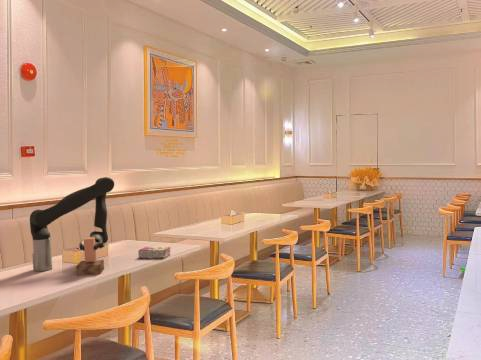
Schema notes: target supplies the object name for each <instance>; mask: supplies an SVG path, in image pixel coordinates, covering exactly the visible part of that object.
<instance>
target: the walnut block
mask: <svg viewBox="0 0 481 360" xmlns="http://www.w3.org/2000/svg"><path fill="white" fill-rule="evenodd" d="M104 269H105V260H104V259H96V260H95V261H90V262H85V260H81V261H79V262H78V264H77V265H76V275H77V276H85V275H86V276H89V275H90V276H91V275H101V274H102V272H103V271H104Z"/></svg>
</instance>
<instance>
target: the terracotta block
mask: <svg viewBox="0 0 481 360" xmlns="http://www.w3.org/2000/svg"><path fill="white" fill-rule="evenodd" d="M83 245H84V251H83V253H84V261H85V262H90V261H95V260H97V250H94V245H95V237H90V236H89V237H84V238H83Z"/></svg>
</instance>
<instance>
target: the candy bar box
mask: <svg viewBox="0 0 481 360" xmlns="http://www.w3.org/2000/svg"><path fill="white" fill-rule="evenodd" d="M170 255H171V247H170V246H145V247H143V248H141V249H138V258H139V259H164V258H166V257H167V258H168V257H169V256H170Z"/></svg>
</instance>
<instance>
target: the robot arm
mask: <svg viewBox="0 0 481 360" xmlns="http://www.w3.org/2000/svg"><path fill="white" fill-rule="evenodd" d="M114 188H115V180H114V179H113V178H111V177H108V176H107V177H106V176H105V177H100V178H97V179H96V181H95V183H94V184H91V185H89V186H88V187H84V188H81V189H78V190H76V191H74V192H71V193H70V194H68V195H66V196H64V197H63V198H61V200H59V202H57V203H56V204H55V205H53V206H50V207H47V208H45V209H35V210H33V211H32V212H31V214H30V215H29V228H30V234H31V237H32V250H33V251H32V252H33V253H32V255H31V256H32V270H33V272H45V271H49V270H52V269H53V260H52V259H53V257H52V243H51V242H52V241H51V240H52V239H51V232H50V231H49V229H48V226H49V225H50V224H52V223H53V222H54V221H56V220H57V219H59V218H60V217H62V216H65V215H67V214H69V213H71V212H73V211H75V210H77V209H79V208H81V207H83V206H85V205H86V204H88V203H89V202H90V201H93V200H94V199H95V209H94V210H95V213H94V219H93V220H94V222H93V226H94V227H95V228H99V229H101V231H96V230H95V231H91V232H90V234H89V237H95V245H94V250H96V251H97V250H98V249H104V247H105V246H106V245H105V244H106V243H108V241H109V236H108V230H107V221H108V220H107V219H108V210H107V204H106V198H107V197H106V196H107V193H109V192H112V190H114ZM78 245H79V250H81V251H83V252H84V243H81V242H79V244H78Z"/></svg>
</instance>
